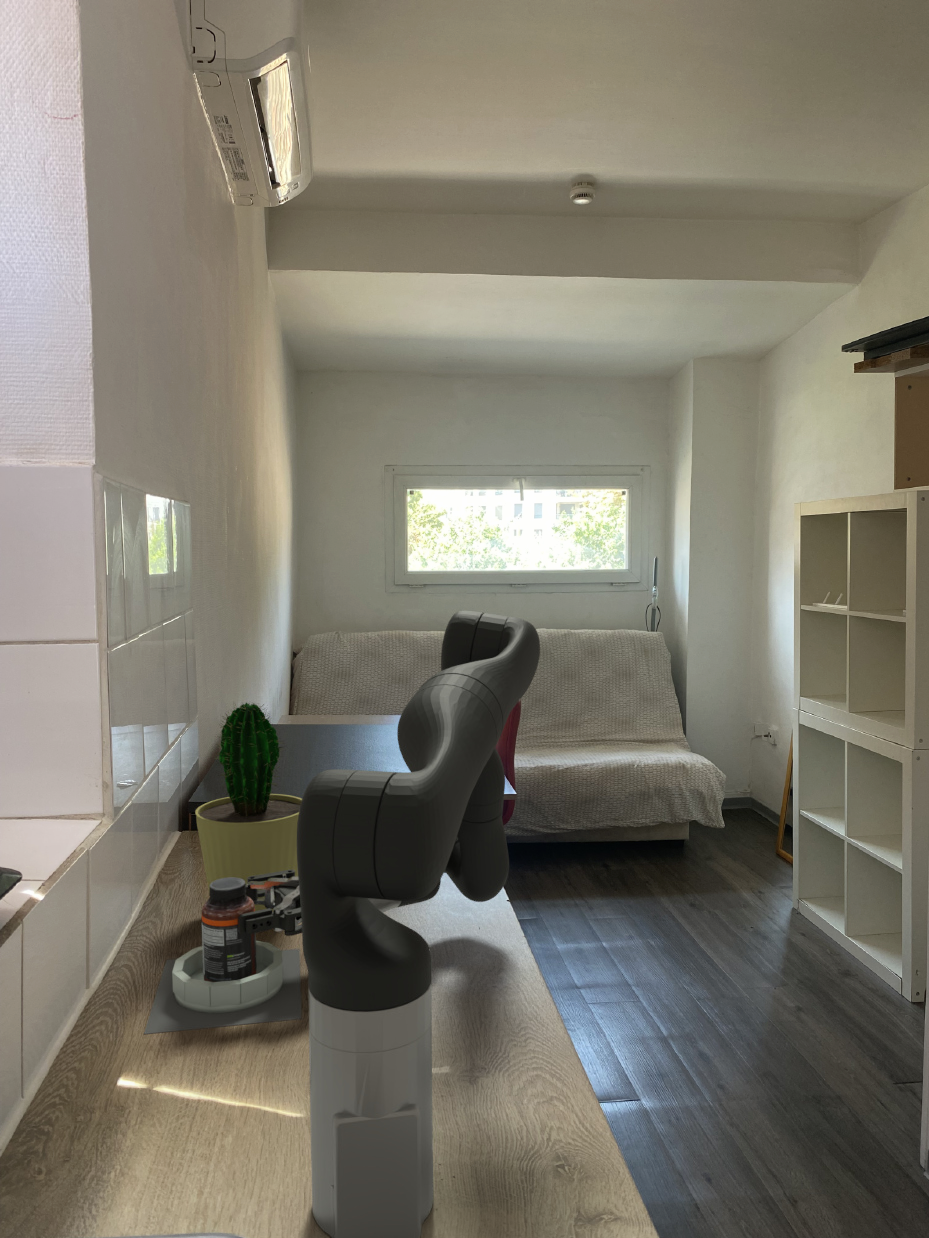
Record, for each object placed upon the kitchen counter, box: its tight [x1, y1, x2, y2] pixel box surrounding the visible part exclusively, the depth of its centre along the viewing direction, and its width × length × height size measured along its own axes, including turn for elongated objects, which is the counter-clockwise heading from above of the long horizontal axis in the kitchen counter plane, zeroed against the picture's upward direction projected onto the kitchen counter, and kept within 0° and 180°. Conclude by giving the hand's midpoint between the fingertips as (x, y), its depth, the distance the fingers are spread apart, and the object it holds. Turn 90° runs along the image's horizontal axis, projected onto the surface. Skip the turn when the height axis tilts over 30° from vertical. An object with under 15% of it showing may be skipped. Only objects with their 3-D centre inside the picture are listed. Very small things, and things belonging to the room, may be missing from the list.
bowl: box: [172, 940, 283, 1013], centre depth 105 cm, size 12×12×3 cm
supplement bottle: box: [201, 877, 257, 982], centre depth 105 cm, size 6×6×11 cm
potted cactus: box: [194, 701, 303, 912], centre depth 128 cm, size 15×15×30 cm
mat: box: [143, 948, 302, 1035], centre depth 105 cm, size 18×16×1 cm
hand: (227, 913), depth 104 cm, fingers open, 8 cm apart
